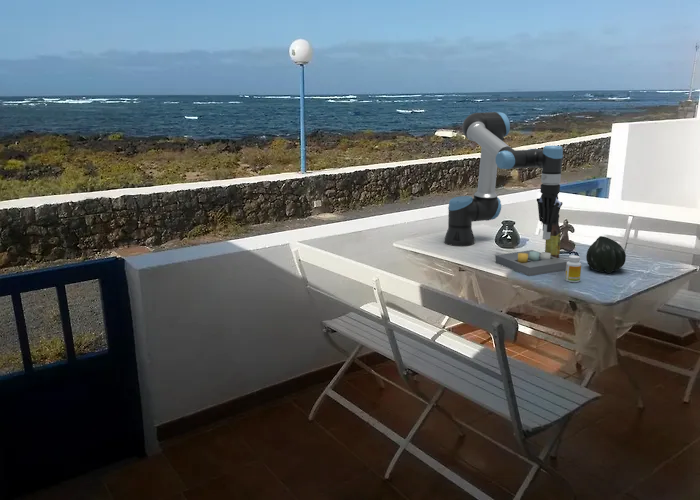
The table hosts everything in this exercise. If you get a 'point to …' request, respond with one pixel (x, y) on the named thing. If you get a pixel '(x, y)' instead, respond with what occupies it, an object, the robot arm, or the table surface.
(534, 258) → the teal button
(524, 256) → the amber button
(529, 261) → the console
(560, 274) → the table surface
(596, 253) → the squash
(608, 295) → the table surface
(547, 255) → the ivory button
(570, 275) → the supplement bottle
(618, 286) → the table surface
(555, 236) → the sauce bottle
